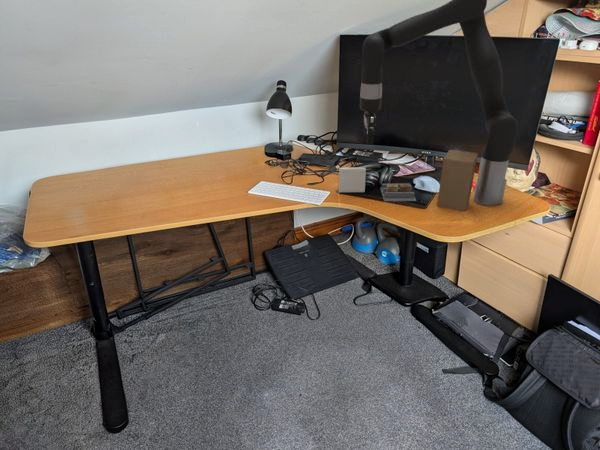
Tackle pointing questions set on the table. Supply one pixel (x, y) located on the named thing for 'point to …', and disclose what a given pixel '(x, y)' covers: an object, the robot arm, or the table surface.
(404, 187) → the walnut offcut
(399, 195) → the charcoal rack
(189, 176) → the table surface
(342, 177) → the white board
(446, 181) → the wooden block
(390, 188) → the oak offcut
